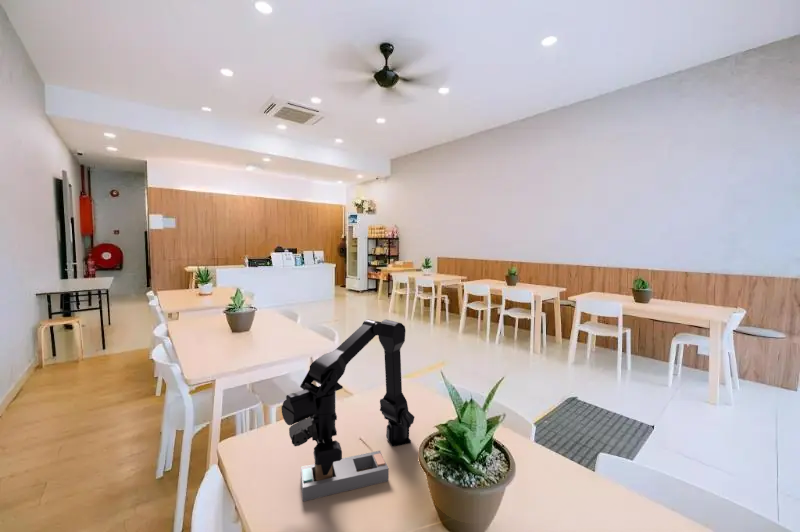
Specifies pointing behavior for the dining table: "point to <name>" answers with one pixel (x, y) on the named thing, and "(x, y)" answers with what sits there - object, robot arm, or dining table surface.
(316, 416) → the robot arm
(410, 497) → the dining table surface
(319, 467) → the brown wooden block
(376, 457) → the socket strip
